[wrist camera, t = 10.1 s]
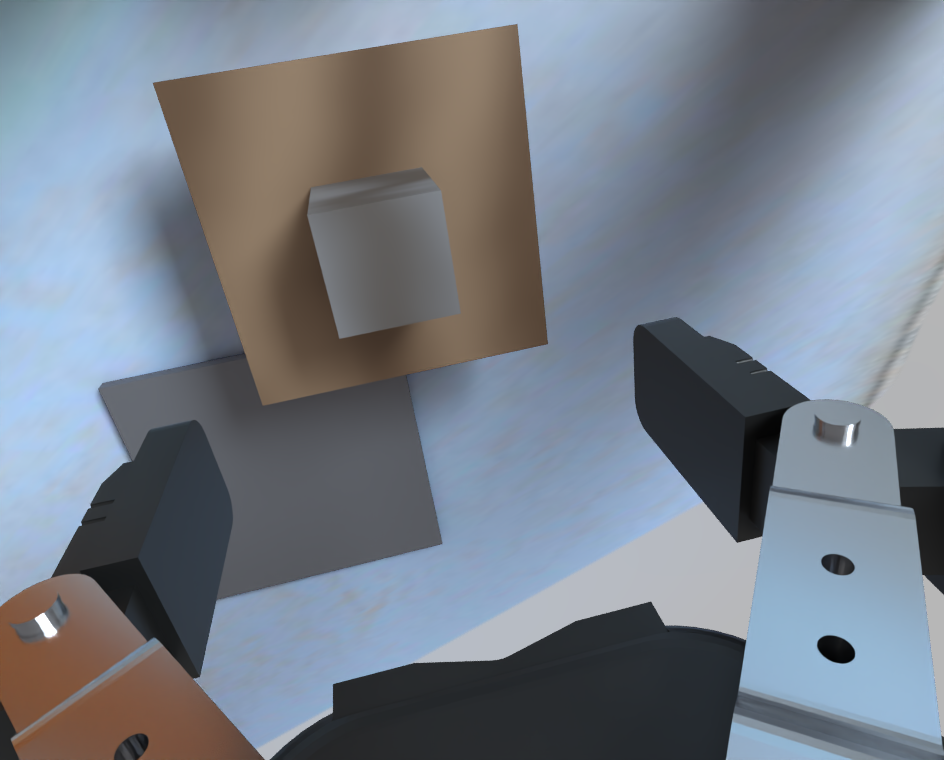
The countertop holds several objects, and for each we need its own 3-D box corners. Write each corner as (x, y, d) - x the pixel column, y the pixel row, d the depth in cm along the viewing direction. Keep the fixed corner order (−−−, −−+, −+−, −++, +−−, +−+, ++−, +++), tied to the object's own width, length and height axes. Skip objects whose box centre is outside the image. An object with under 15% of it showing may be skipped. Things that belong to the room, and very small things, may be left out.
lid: (509, 25, 23) (558, 17, 18) (541, 335, 28) (584, 392, 24) (159, 81, 22) (111, 89, 17) (265, 394, 27) (251, 468, 22)
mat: (394, 322, 32) (395, 326, 32) (440, 537, 39) (442, 543, 38) (102, 383, 31) (98, 388, 30) (201, 595, 37) (200, 603, 37)
